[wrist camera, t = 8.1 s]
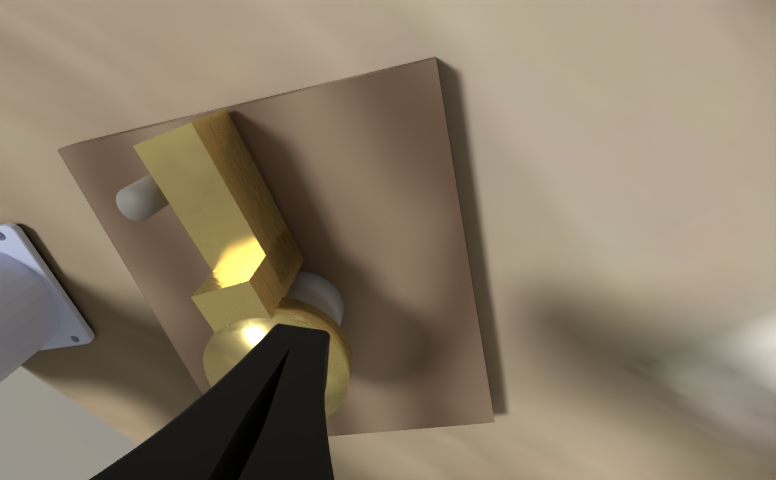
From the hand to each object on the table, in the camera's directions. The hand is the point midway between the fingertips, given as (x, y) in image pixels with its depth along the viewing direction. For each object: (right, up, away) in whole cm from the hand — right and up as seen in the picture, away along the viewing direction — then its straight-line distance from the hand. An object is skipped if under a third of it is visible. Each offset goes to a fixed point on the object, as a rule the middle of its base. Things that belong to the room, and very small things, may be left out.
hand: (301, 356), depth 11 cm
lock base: (-2, 0, +12) cm, 12 cm away
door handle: (-3, +2, +9) cm, 10 cm away
